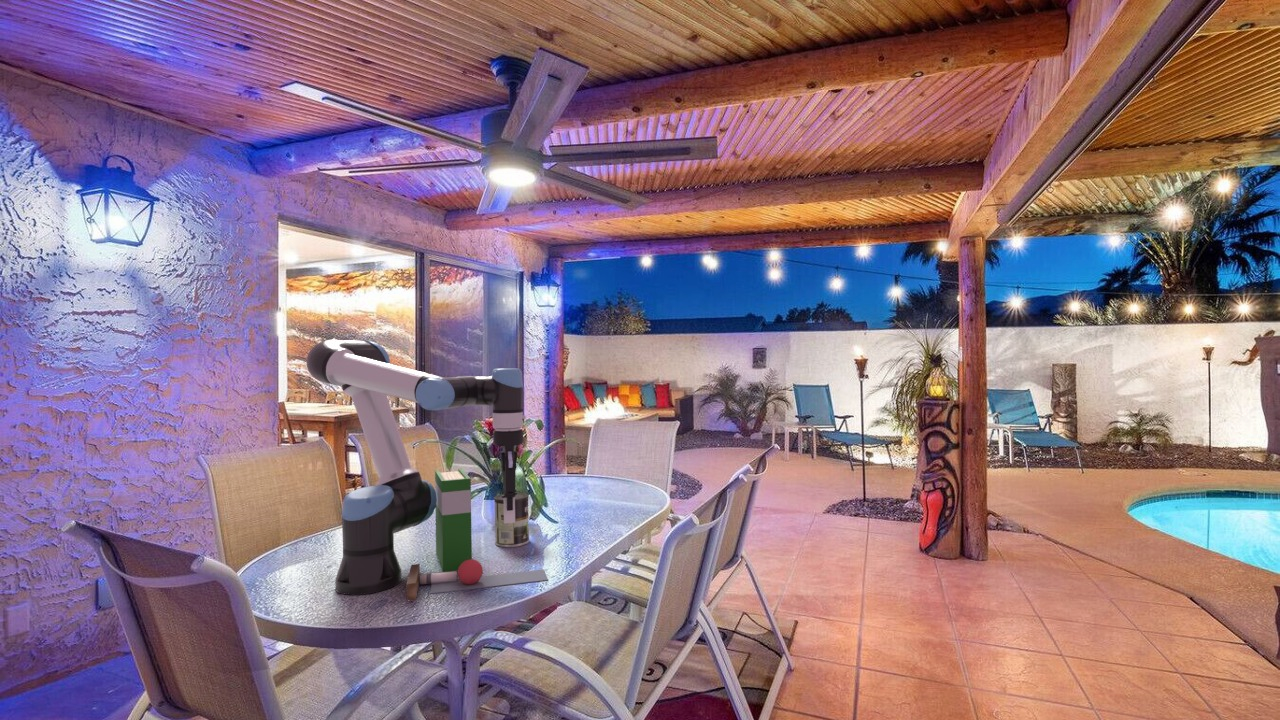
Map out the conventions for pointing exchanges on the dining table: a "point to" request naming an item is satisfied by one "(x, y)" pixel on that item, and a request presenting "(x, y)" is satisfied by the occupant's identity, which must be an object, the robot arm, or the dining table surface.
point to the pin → (438, 577)
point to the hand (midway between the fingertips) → (509, 522)
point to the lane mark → (491, 581)
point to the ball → (470, 572)
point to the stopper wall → (413, 582)
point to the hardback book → (453, 519)
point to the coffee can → (515, 531)
